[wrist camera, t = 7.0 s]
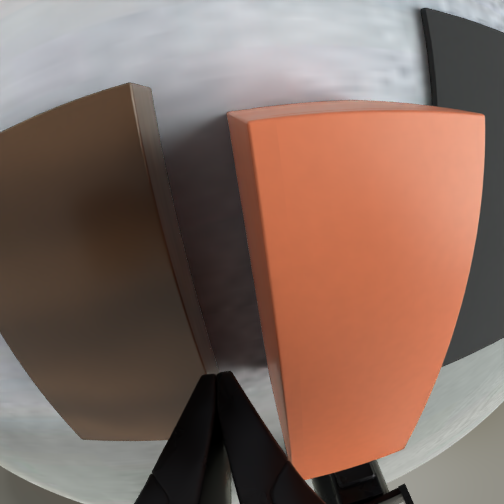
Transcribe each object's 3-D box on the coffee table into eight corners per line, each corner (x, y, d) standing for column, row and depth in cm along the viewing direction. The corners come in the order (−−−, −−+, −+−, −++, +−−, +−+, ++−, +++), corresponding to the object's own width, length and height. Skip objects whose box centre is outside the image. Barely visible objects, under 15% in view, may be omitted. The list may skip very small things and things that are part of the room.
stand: (226, 392, 17) (230, 434, 15) (91, 402, 17) (81, 440, 14) (151, 86, 10) (131, 81, 7) (-25, 154, 9) (-66, 171, 7)
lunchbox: (268, 369, 17) (354, 349, 17) (293, 482, 10) (404, 449, 11) (226, 112, 11) (354, 100, 11) (246, 121, 4) (486, 114, 5)
